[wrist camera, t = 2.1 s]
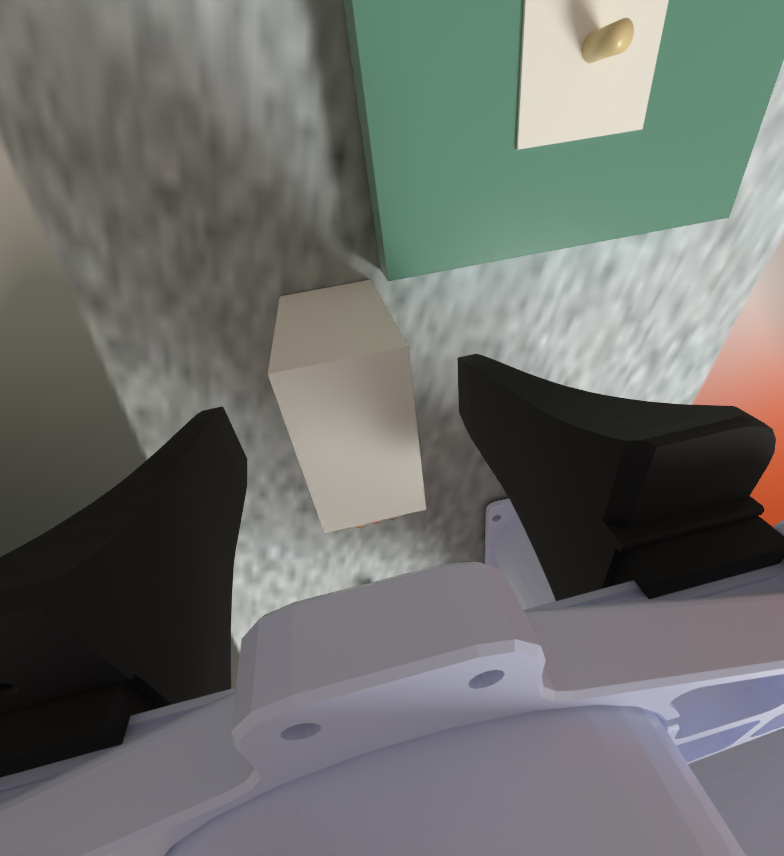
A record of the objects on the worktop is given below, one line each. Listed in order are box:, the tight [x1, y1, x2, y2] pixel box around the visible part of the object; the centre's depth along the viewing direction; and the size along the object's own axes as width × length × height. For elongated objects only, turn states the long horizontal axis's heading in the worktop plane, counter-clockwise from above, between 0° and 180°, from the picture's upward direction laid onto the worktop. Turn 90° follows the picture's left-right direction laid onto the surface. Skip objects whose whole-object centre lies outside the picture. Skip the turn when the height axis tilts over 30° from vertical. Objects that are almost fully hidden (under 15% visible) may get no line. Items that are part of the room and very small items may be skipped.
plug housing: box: [268, 280, 426, 534], centre depth 13 cm, size 7×3×6 cm, turn 7°
